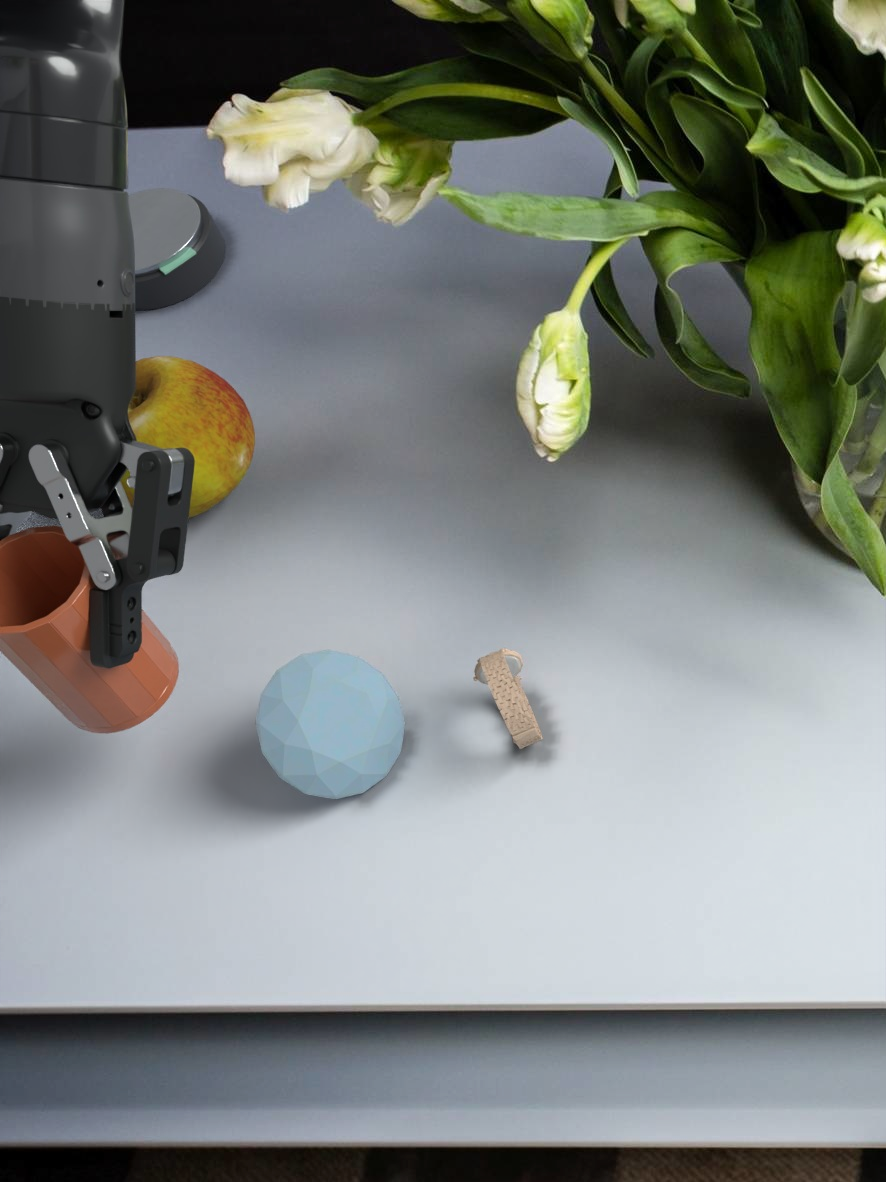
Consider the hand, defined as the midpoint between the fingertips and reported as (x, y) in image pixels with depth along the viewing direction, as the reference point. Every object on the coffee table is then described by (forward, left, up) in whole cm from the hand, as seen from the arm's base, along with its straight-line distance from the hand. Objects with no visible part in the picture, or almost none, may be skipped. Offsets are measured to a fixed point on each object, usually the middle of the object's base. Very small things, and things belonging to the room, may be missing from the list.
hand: (50, 652), depth 76 cm
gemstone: (+7, -7, -11) cm, 15 cm away
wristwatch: (+14, -13, -11) cm, 23 cm away
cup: (+1, +1, -5) cm, 6 cm away
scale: (+21, +33, -11) cm, 41 cm away
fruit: (+12, +15, -11) cm, 22 cm away
